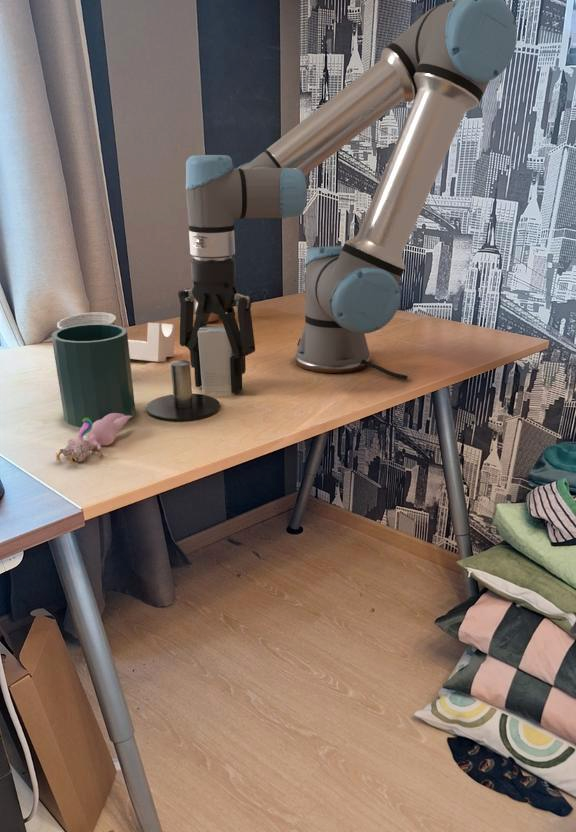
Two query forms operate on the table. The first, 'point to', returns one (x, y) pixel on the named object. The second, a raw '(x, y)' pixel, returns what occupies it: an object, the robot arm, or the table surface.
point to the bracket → (154, 343)
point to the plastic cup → (87, 319)
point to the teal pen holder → (93, 372)
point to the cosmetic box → (215, 360)
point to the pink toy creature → (93, 436)
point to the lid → (182, 399)
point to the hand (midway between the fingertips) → (218, 387)
